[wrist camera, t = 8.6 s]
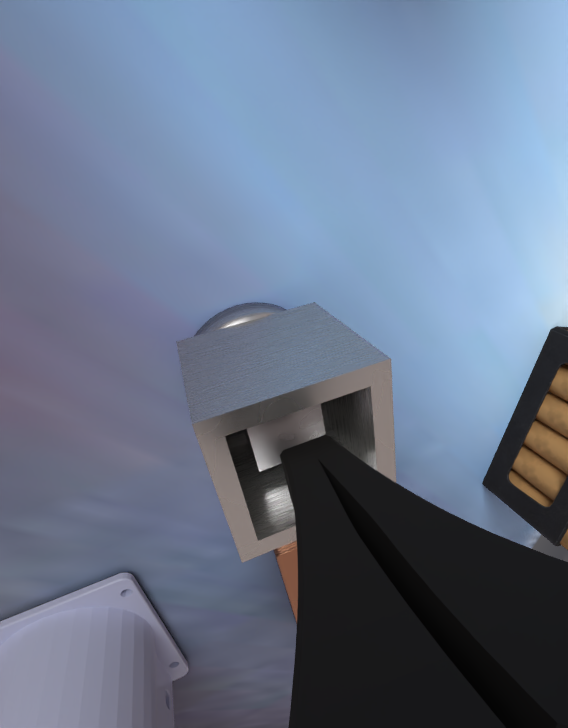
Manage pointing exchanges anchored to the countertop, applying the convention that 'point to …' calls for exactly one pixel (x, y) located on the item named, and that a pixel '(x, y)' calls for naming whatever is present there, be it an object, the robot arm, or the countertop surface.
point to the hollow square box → (282, 408)
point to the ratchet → (274, 435)
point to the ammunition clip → (538, 446)
